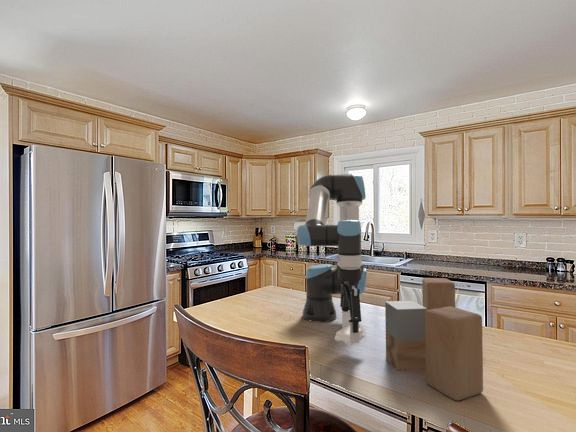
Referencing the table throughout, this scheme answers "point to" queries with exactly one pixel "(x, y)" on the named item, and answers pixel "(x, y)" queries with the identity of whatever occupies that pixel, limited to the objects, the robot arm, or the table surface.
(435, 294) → the wooden block
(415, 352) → the walnut base cube
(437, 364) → the block
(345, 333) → the soap
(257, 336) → the table surface
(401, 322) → the grey cube
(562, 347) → the table surface
